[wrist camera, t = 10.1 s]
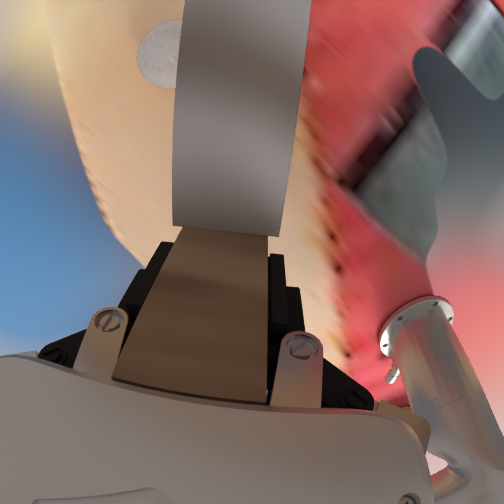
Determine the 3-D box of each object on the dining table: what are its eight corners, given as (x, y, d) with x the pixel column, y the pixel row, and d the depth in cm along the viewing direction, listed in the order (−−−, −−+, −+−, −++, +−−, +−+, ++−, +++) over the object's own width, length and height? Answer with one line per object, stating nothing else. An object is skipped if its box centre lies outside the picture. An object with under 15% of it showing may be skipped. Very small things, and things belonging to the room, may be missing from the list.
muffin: (160, 26, 20) (129, 11, 14) (224, 31, 20) (209, 12, 14) (147, 85, 23) (112, 86, 17) (209, 92, 23) (190, 93, 17)
